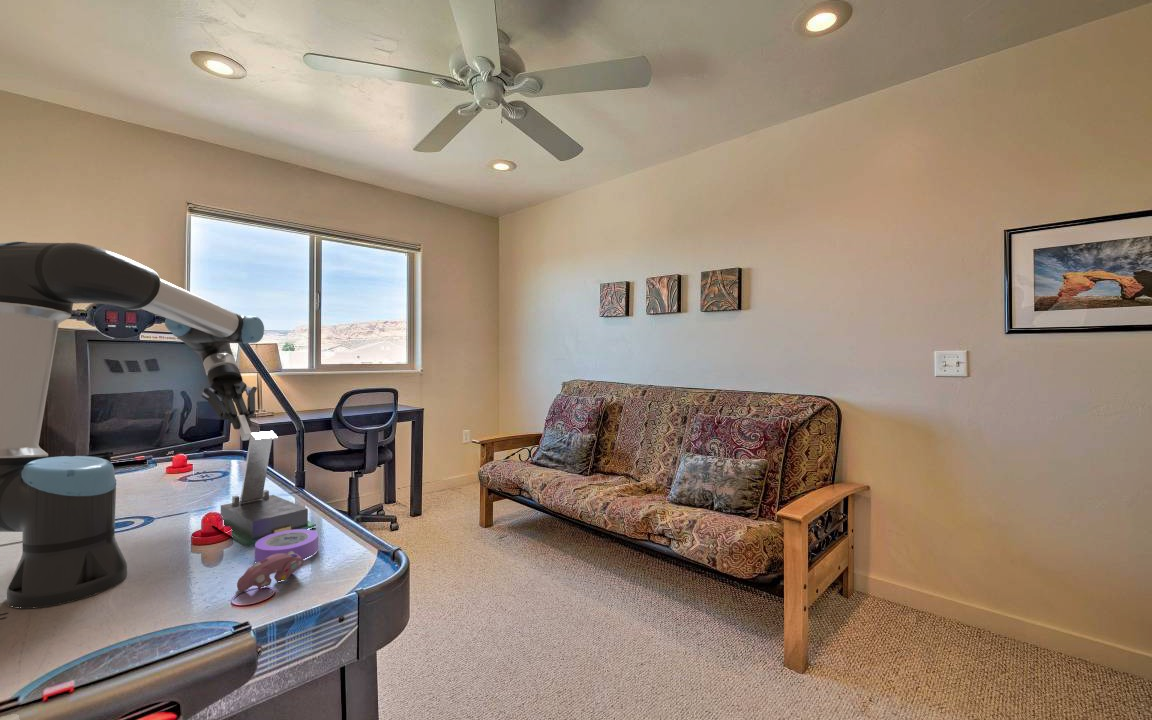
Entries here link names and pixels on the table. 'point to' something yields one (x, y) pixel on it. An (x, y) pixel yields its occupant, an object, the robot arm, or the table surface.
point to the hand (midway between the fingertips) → (246, 436)
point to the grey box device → (263, 517)
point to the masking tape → (287, 544)
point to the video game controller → (270, 570)
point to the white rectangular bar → (256, 465)
